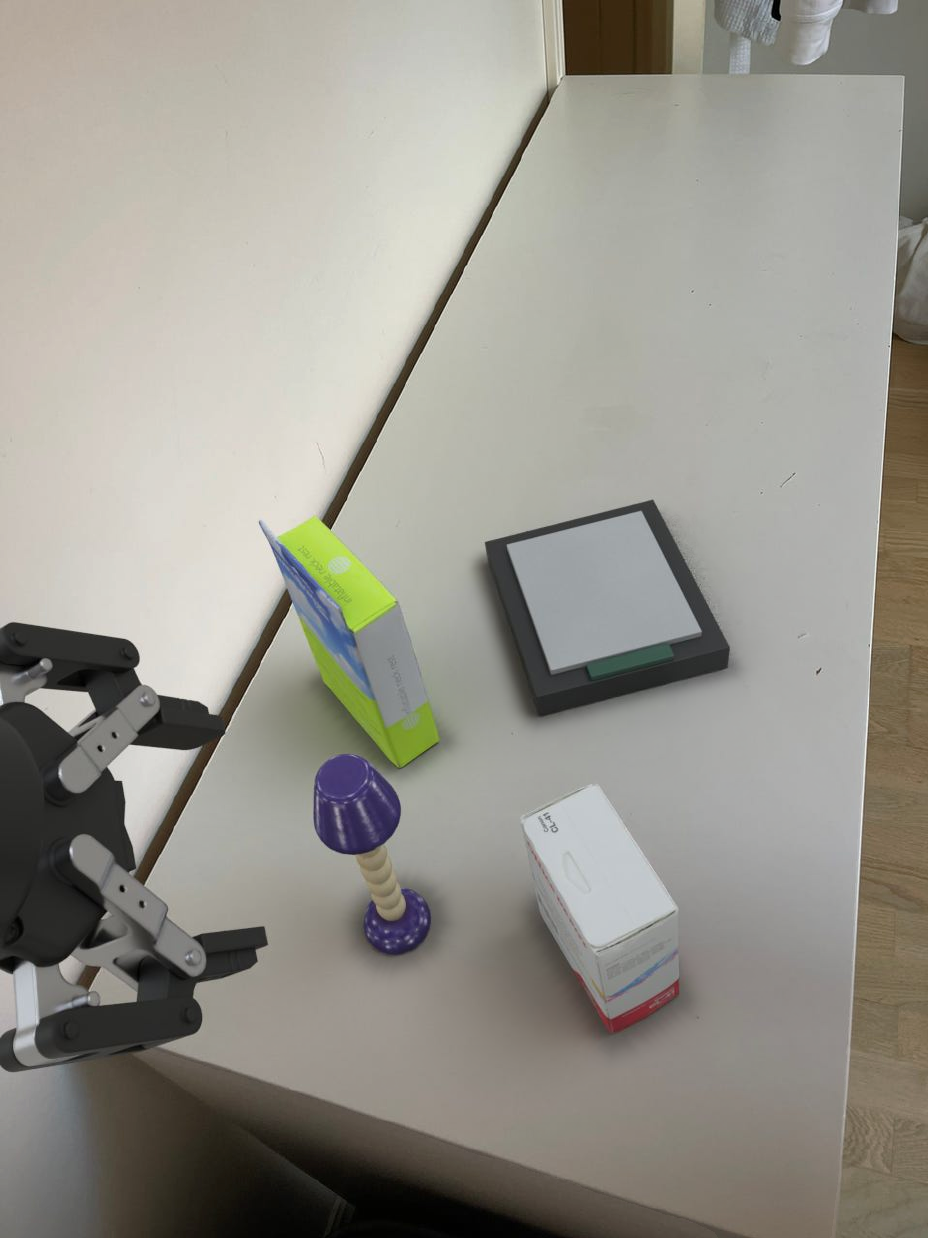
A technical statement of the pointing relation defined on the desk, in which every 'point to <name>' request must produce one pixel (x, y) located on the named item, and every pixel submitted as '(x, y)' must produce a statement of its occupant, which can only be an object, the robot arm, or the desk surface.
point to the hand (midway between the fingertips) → (228, 833)
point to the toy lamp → (369, 847)
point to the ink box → (604, 905)
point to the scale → (603, 608)
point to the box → (356, 638)
